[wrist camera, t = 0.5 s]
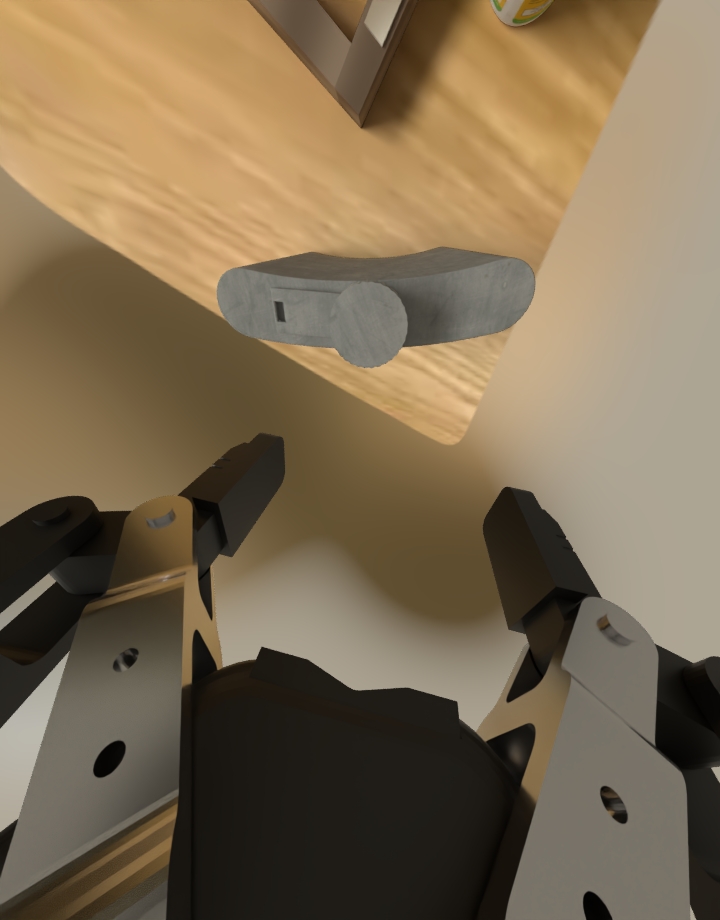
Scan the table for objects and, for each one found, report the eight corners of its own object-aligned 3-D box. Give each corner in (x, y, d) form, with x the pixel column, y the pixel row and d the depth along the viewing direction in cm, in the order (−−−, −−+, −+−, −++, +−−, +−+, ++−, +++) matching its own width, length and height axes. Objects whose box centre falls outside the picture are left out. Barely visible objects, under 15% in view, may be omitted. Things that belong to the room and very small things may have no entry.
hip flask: (458, 246, 25) (580, 260, 10) (450, 295, 27) (535, 368, 12) (295, 252, 26) (175, 274, 11) (302, 299, 28) (214, 370, 13)
